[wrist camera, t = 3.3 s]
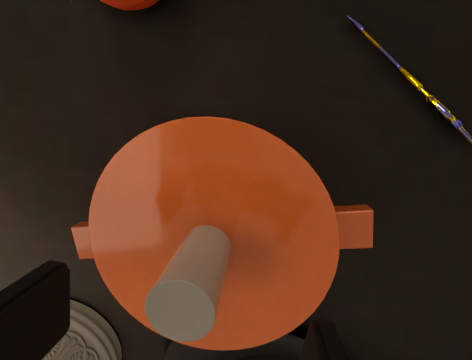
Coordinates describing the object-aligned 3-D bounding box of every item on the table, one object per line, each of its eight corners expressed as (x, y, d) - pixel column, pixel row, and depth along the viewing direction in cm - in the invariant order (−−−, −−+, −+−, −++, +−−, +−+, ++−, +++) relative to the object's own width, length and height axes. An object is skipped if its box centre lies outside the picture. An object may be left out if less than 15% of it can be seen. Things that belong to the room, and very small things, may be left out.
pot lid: (76, 130, 15) (-52, 138, 9) (332, 101, 13) (390, 88, 7) (126, 335, 18) (58, 441, 12) (336, 335, 16) (377, 462, 10)
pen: (481, 146, 19) (489, 147, 18) (473, 152, 19) (480, 154, 18) (348, 12, 18) (352, 8, 17) (341, 21, 18) (344, 17, 17)
